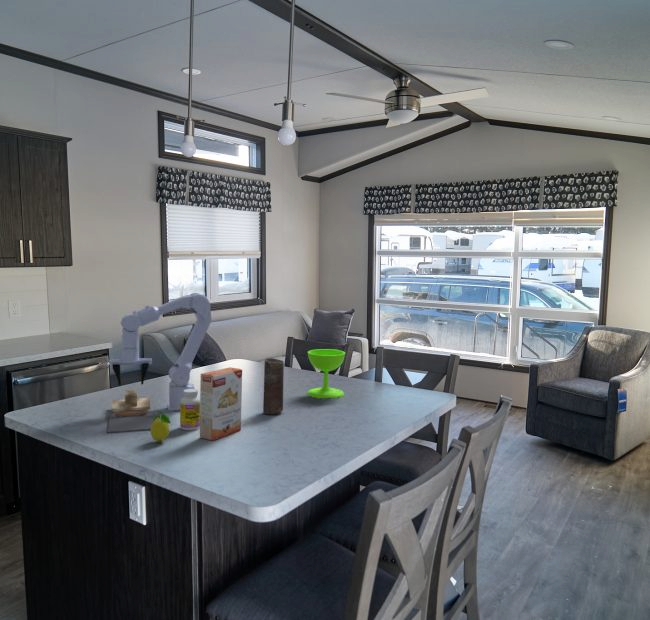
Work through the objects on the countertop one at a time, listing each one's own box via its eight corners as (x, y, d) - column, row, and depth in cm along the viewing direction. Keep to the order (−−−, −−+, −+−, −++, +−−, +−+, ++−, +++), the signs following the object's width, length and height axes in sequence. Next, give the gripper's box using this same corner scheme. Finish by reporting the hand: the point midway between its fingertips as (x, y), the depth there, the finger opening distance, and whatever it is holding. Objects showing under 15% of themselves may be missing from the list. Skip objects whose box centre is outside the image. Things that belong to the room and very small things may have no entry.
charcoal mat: (157, 415, 197) (157, 414, 197) (159, 429, 182) (159, 427, 182) (109, 419, 192) (109, 417, 192) (107, 433, 177) (107, 431, 177)
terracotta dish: (148, 406, 208) (148, 400, 208) (148, 415, 197) (148, 408, 197) (114, 408, 204) (114, 402, 204) (113, 418, 193) (113, 410, 193)
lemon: (170, 445, 167) (170, 412, 166) (150, 446, 166) (150, 414, 165) (170, 437, 174) (170, 407, 173) (150, 439, 172) (150, 408, 171)
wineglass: (351, 395, 232) (353, 353, 230) (320, 400, 223) (321, 357, 221) (330, 388, 245) (331, 348, 243) (299, 392, 236) (300, 350, 234)
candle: (272, 408, 210) (273, 357, 208) (287, 412, 205) (288, 359, 203) (259, 413, 203) (259, 359, 201) (274, 416, 199) (274, 362, 197)
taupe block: (149, 399, 209) (149, 387, 208) (150, 409, 196) (150, 396, 196) (113, 401, 204) (112, 389, 204) (111, 411, 192) (111, 398, 192)
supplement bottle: (182, 432, 180) (182, 393, 178) (178, 426, 186) (178, 389, 184) (202, 429, 183) (203, 391, 182) (197, 424, 189) (197, 387, 187)
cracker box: (213, 441, 171) (213, 375, 169) (198, 438, 174) (199, 373, 172) (242, 430, 183) (243, 368, 181) (228, 427, 186) (229, 366, 184)
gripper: (151, 345, 204) (151, 380, 206) (109, 346, 200) (110, 382, 201) (151, 348, 198) (152, 385, 199) (108, 349, 193) (109, 387, 195)
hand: (131, 384), depth 200 cm, fingers open, 7 cm apart
